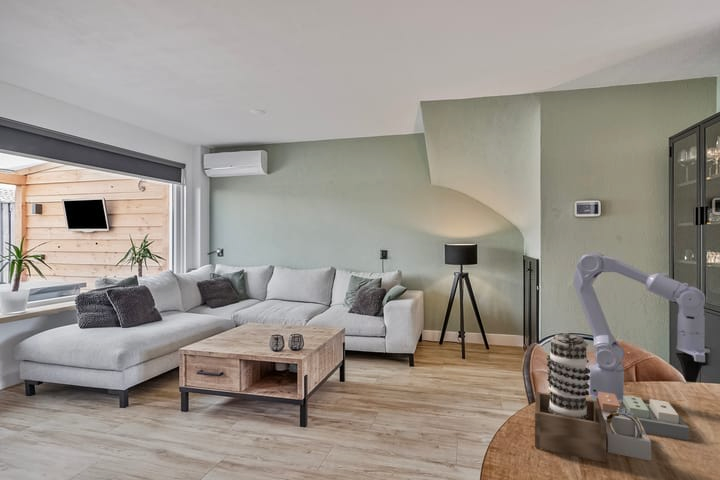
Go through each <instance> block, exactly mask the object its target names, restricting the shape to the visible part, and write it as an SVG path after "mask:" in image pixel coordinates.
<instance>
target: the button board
mask: <svg viewBox="0 0 720 480" xmlns="http://www.w3.org/2000/svg"><path fill="white" fill-rule="evenodd" d="M590 400H593V401H598V396H592V395H591V397H590ZM617 400H618V399H617ZM618 402H619V404H620V406H621V409H623V408H624V406H623V400H618ZM644 404H645V405H646V407H647V408H648V410H649V419H645V418H639V417H636V418H637V419H638V420H639V421H640V423H641V425H642V427H643V428H644V430H645V432H646V434H650V435H656V436H657V435H658V436H662V437H666V438H667V437H668V438H673V439H679V440H683V441H690V427H689V426H688V424H686V422H685V421H684V420H683V418H682V417H681V416H680V415H679V413H678V412H677V411H676V413H677V414H678V415H679V423H678V424H675V423H669V422H663V421H657V420H656V418H655V417H654V415H653V414H652V412H651V410H650V409H649V406H650V403H645V402H644ZM672 408H673V409H674V410H675V408H674V407H672ZM601 412H602V411H601ZM602 414H608V415H610V414H611V413H608V412H602ZM619 416H620V417H626V416H621V415H619ZM626 418H628V417H626Z"/></svg>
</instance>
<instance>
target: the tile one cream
mask: <svg viewBox="0 0 720 480" xmlns="http://www.w3.org/2000/svg"><path fill="white" fill-rule="evenodd" d="M649 404H650V406H649V409H650V410H651V412H652V414H653V415H654V417H655V418H656V420H657V421H663V422H669V423H675V424H678V423H679V416H680V414H679V413H678V412H677V410H675V408H674V407H673V406H672V405H671V404H670V402H669V401H665V400H657V399H651V398H650V399H649ZM673 408H674V409H673ZM676 412H677V413H678V414H677V413H676Z"/></svg>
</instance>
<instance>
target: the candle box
mask: <svg viewBox="0 0 720 480" xmlns="http://www.w3.org/2000/svg"><path fill="white" fill-rule="evenodd" d="M549 406H550V393H547V392H541V391H535V408H534V410H535V411H534V412H535V413H534V448H535V447H537V448H536V449H539V448H542V449H541V450H544V449H546V450H545V451H549V450H550V452H554V453H560V454H563V453H564V455H568V456H574V457H578V458H583V459H588V460H593V461H597V462H603V463H607V448H606V423H605V420H604V417H603V414H602V412H601V409H600V406H599V403H598V401H593V400H591V399H587V398H586V406H587V415H588V420H584V419H578V418H572V417H567V416H561V415H555V414H549V411H548V407H549Z"/></svg>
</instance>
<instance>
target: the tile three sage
mask: <svg viewBox="0 0 720 480" xmlns="http://www.w3.org/2000/svg"><path fill="white" fill-rule="evenodd" d="M644 403H645V402H644V401H643V399H642V397H637V396H631V395H625V394H624V395H623V406H624V408H625V410H627V409H629V410H628V411H631V413H633V416H635V417H639V418H645V419H649V410H648V408H647V407H646V405H645V404H646V403H645V404H644Z"/></svg>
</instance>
